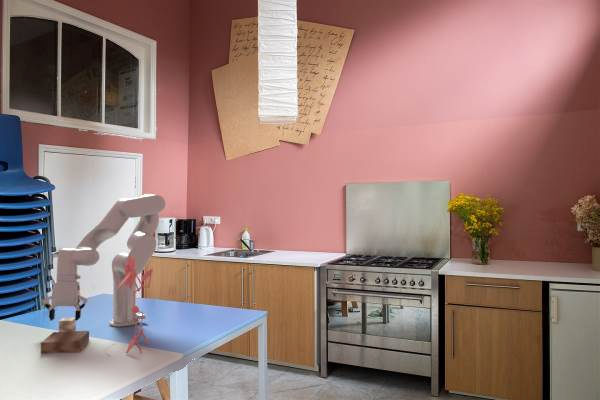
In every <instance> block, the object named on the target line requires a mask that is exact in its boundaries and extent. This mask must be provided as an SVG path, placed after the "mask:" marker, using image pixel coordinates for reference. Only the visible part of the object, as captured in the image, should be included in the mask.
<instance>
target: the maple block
mask: <svg viewBox="0 0 600 400" xmlns="http://www.w3.org/2000/svg"><path fill="white" fill-rule="evenodd" d="M76 327H77V321H76V320H75V317H63V318H61V319H59V321H58V332H70V331H77V328H76Z"/></svg>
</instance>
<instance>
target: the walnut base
mask: <svg viewBox="0 0 600 400" xmlns="http://www.w3.org/2000/svg"><path fill="white" fill-rule="evenodd" d="M88 341H90V330H76V331H70V332H59V331H54V332H52V333H50V334H49V335H48V336H47V337H46V338H44V339H43V340H42V341H41V342H40V354H42V353H44V354H60V353H61V354H62V353H63V354H64V353H65V352H66V354H67V353H80V352H81V350H82V349H83V348H85V346H86V345H87V344H88V343H89V342H88ZM87 342H88V343H87ZM86 343H87V344H86ZM85 344H86V345H85Z"/></svg>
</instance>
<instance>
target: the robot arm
mask: <svg viewBox="0 0 600 400" xmlns="http://www.w3.org/2000/svg"><path fill="white" fill-rule="evenodd" d="M165 207H166V200H165V198H164V197H163V196H162V195H160V194H154V193H153V194H150V193H146V194H143V195H140V197H131V198H130V197H129V198H128V197H123V198H120V199H118V200H117V201H116V202H115V203H114V204H113V206H112V207H111V208H110V209H109V210H108V212H107V213H106V214H105V216H104V217H103V218H102V220H101V221H100V222H99V223H98V224H97V225H96V226H94V228H93V229H92V230H90V231H89V232H88V233H87V234H86V235H85V236H84V237H83V238H82V239H81V241H80V242H79V243H78V245H76V247H75V248H74V247H73V248H72V247H64V248H60V249H58V251H57V262H56V280H55V281H54V284H53V287H52V293H51V295H50V296H48V297H45V298H44V299H42V302H43V304H44V307H45V308H46V309H47V310H48V318H49V321H54V320H55V315H56V314H55V312H56V309H55V308H56V307H73V308H75V309H76V311H75V315H74V316H75V317H74V318H75V320H76V322H77V321H78V320H80V318H81V313H82V311H81V310H82V309H84V307H86V305H87V304H88V302H89V299H88V298H86V297H84V296H82V295H81V286H80V281H79V280H81V278H82V277H81V275H78V266H84V267H91V266H94V265H95V264H97V263H98V262H99V260H100V253H99V252H98V251H97V249H98V248H99V246H101V244H103V243H105V242H106V241H107V240H109V239H111V238H113V237H114V236H116V235H118V234H119V232H120V231H121V229H122V228H123V227H124V225H125V224H126V223H127V221H128V220H129V218H139V217H140V218H139V221H138V223H137V225H136V226H135V227H134V229H133V231H132V232H131V234H130V235H129V237H128V238H127V240H126V246H127V248H128V250H129V252H119V253H117V254H116V255H115V256H114V257H113V258H112V261H111V271H112V281H113V284H112V285H113V286H112V287H113V288H112V289H113V290H112V292H113V294H112V301H113V302H112V306H113V307H112V319H111V320H109V322H108V324H109V325H110V326H112V327H130V326H134V325H136V318H137V324H138V323H140V319H141V320H142V313H138V312H137V313H135V316H136V318H135V316H134V313H133V312H132V311H131V309H132V307H133V306H134V296H133V293H134V291H136V290H137V288H136V285H135V283H134V281H133V286H132V288H131V289H130V287H129V284H128V285H127V286H126V285H125V283H124V284H123V285H122V286H121V287H120V288H119V289H118V287H119V285H120V283H121V282H122V281H123V279H124V278H125V277H126V272H125V264H127V265H128V257H129V256H130V255H131V261H132V258H135V266H134V268H135V271H136V274H137V276H139V275H140V274H141V273H142V272H143V271H144V270H145V268H146V266H147V265H148V263H149V261H150V260H151V258H152V257H153V255H154V252H155V250H156V249H157V239H156V237H155V236H154V234H155V232H156V230H157V229H158V226H159V223H160V218H159V217H160V216H159V213H161V212H163V211H164V209H165ZM135 281H136V282H137V279H135ZM49 301H51V304H50V303H49ZM81 301H82V304H80V302H81ZM136 301H137V292H135V306H137V302H136ZM145 319H147V315H146V314H145V313H143V320H145Z"/></svg>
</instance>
